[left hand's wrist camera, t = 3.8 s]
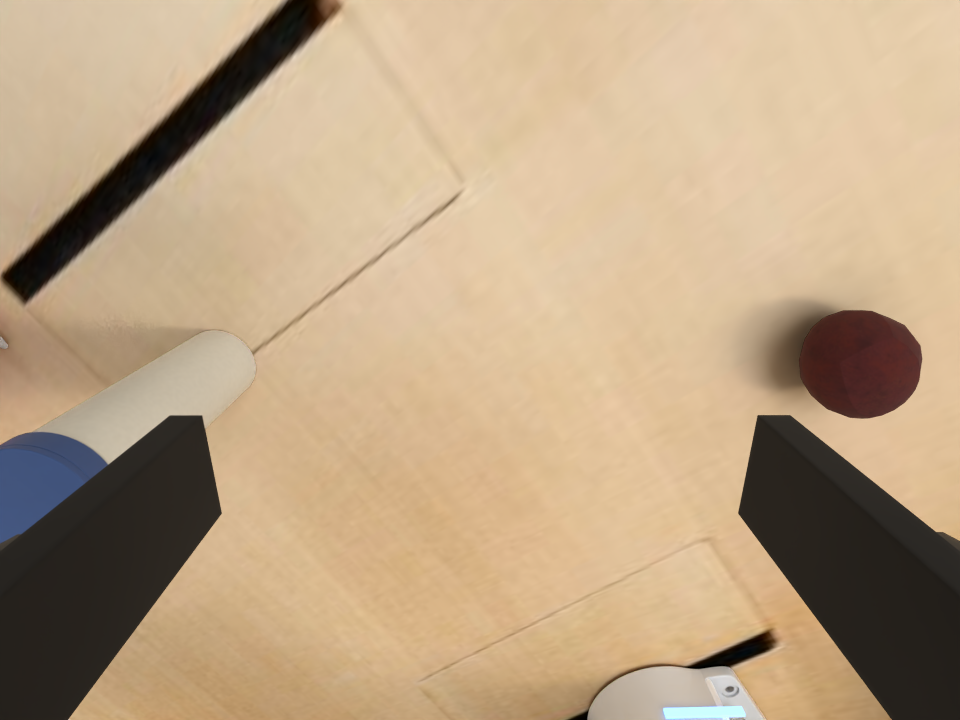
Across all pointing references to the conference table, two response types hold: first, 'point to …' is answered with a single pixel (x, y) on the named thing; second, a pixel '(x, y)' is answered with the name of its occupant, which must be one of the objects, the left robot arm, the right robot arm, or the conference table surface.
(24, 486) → the lid
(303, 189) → the conference table surface
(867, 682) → the left robot arm
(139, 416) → the jar
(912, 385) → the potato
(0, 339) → the fish
